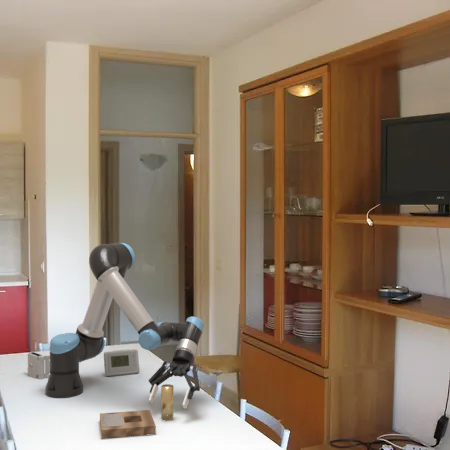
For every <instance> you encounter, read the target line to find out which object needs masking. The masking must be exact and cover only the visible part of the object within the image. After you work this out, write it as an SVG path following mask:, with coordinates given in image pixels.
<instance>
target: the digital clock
mask: <svg viewBox="0 0 450 450" xmlns="http://www.w3.org/2000/svg"><path fill="white" fill-rule="evenodd" d="M103 364H104V374H105V377H116V376H117V377H121V376H127V375H133V374H138V373H140V361H139V351H138V349H135V348H134V349H132V348H131V349H122V350H121V349H120V350H112V351H105V352H104V353H103Z"/></svg>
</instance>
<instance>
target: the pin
mask: <svg viewBox="0 0 450 450" xmlns="http://www.w3.org/2000/svg"><path fill="white" fill-rule="evenodd" d="M160 391H161V393H160V397H161V399H160V420H161V419H162V420H161V421H163V420H165V421H166V422H167V421H172V420H174V385H173V384H167V383H166V384H162V385H161V390H160ZM165 421H164V422H165Z"/></svg>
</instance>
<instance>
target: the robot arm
mask: <svg viewBox="0 0 450 450" xmlns="http://www.w3.org/2000/svg"><path fill="white" fill-rule="evenodd" d="M135 262H136V255H135V252H134V250H133V248H132V247H131V246H130V245H129V244H127V243H124V242H115V243H102V244H99V245H97V246H95V247H94V248H93V249H92V250H91V252H90V253H89V259H88V264H89V268H90V270H91V273H92V274H93V277H94V278H95V279H96V280H97V282H96V284H95V288H94V289H93V293H92V295H91V298H90V301H89V305H88V307H87V310H86V313H85V316H84V319H83V322H82V323H80V324H79V325H77V328H76V331H75V333H74V332H66V333H59V334H57V335H54V336H53V337H52V338H51V340H50V342H49V356H50V359H49V361H50V373H49V375H50V376H49V378H47V382H46V385H45V391H44V392H45V395H46V396H48V397H51V398H56V399H57V398H69V397H70V398H71V397H75V396H79V395H80V394H82V393H83V392H84V384H83V380H82V377H81V375H80V363H81V362H85V361H88V360H90V359H94V358H96V357H97V356H99V355H101V353H102V352H103V350H104V348H105V346H106V345H105V344H106V340H105V332H104V330H103V327H104V324H105V322H106V319H107V316H108V313H109V310H110V307H111V306H112V305H111V304H112V301H113V300H114V301H115V302H116V304H117V305H118V307H119V309H120V310H121V311H122V313H123V315H125V317H126V318H127V319H128V321H129V322H130V324H131V326H132V327H133V328H134V330H135V331H136V332H137V334H138V343H139V346H140V347H141V348H142V349H144V350H145V351H149V350H154V349H157V348H159V347H161V346H164V345H166V344H169V343H172V342H177V345H176V348H175V352H174V354H173V357H172V361H171V363H168V362H167V361H163V362H162V365H161V366H160V367H159V368H158V369H157V371H155V373H154V374H153V375H152V376H151V377H150V378H149V379H148V382H149V384H150V385H151V387H150V389H149V393H150V395H149V398H148V401H149V403H150V404H152V405H153V404H154V402H155V398H156V395H157V393H158V390H159V387H158V386H160V385H161V384H163V383H164V382H165V381H167V380H168V379H169V378H172V377H173V376H174V377H180V378H183V377H184V379H185V381H186V382H187V384H188V387H189V388H187V389H186V392H185V395H184V399H183V402H182V407H183V409H187V407H188V405H189V401H190V400H192V399H193V396H194V393H195V392H199V391H201V388H200V387H201V386H200V383H199V375H198V371H199V368H198V365H197V364H194V365H192V364H193V360H194V357H195V355H196V351H197V348H198V346H199V343H200V339H201V336H202V334H203V331H204V328H205V327H204V325H205V323H204V322H203V320H202V319H201V318H199V317H197V316H189V317H187V318H186V320H185V322H168V321H162V322H161V321H160V322H157V324H156V322H155V321H154V320H153V318H152V317H151V316H150V314H149V313H148V311H147V310H146V309H145V307H144V305H143V304H142V303H141V301H140V300H139V299H138V297H137V296H136V294H135V293H134V292H133V290H132V289H131V287H130V286H129V284H128V283H127V282H126V280H125V279H124V278H125V276H126V274H127V270H130V269H131V268H133V266H134V265H135ZM190 371H191V372H192V378H193V383H194V385H193V383H192V381H191V379H190V376H189V374H188V373H189V372H190Z"/></svg>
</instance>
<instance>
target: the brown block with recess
mask: <svg viewBox="0 0 450 450" xmlns="http://www.w3.org/2000/svg"><path fill="white" fill-rule="evenodd" d="M99 426H100V436H101V437H100V438H101V440H105V439H106V438H107V439H116V438H117V439H118V438H128V437H129V438H130V436H131V437H141V436H140V435H143V436H148V435H147V434H155V435H156V434H157V433H156V431H157V430H156V428H157V426H156V423H155V420H154V417H153V414H152V411H151V410H150V409H144V410H129V411H116V412H115V411H114V412H102V413H99Z"/></svg>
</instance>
